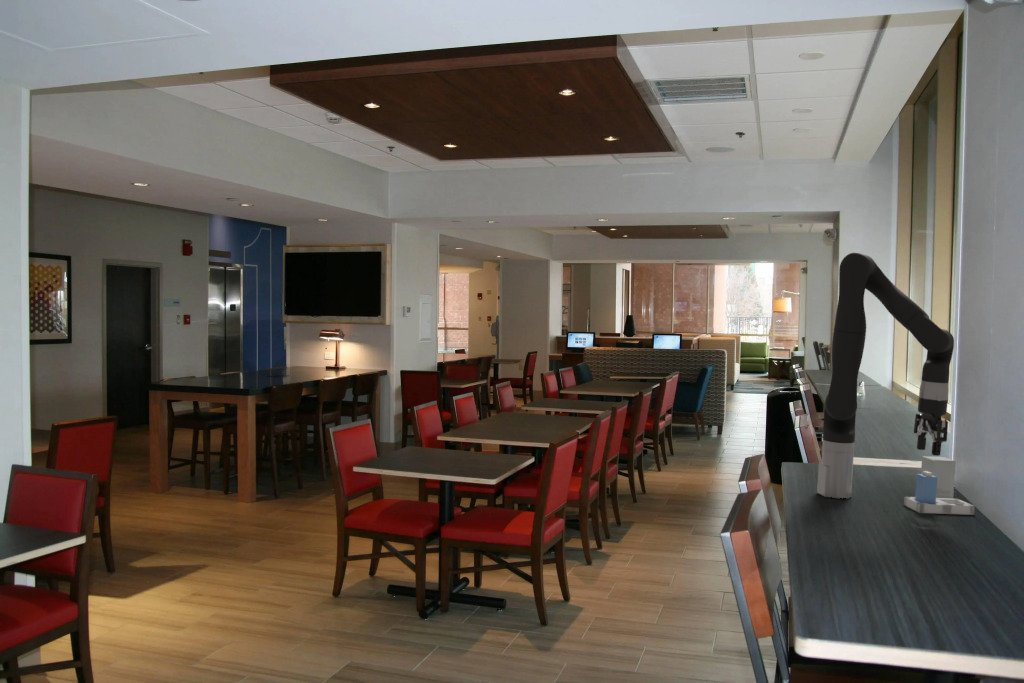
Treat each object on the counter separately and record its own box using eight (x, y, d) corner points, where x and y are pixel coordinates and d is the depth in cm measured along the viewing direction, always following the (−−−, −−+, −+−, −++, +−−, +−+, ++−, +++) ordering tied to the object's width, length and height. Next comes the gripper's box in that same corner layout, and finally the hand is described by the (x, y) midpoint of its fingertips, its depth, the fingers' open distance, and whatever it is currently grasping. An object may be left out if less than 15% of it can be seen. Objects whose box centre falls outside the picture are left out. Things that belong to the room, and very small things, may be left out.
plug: (921, 510, 245) (923, 473, 244) (914, 507, 249) (917, 470, 248) (935, 511, 245) (937, 473, 244) (927, 507, 249) (930, 470, 248)
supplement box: (953, 501, 261) (956, 461, 260) (929, 500, 261) (932, 459, 261) (942, 495, 269) (944, 456, 268) (918, 494, 269) (921, 455, 268)
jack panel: (919, 514, 242) (919, 503, 242) (903, 506, 251) (904, 496, 251) (973, 516, 242) (974, 505, 242) (956, 508, 251) (957, 497, 251)
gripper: (908, 393, 252) (903, 447, 253) (933, 399, 237) (927, 456, 238) (933, 395, 252) (928, 448, 253) (959, 401, 238) (954, 458, 239)
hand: (928, 452), depth 246 cm, fingers open, 8 cm apart
